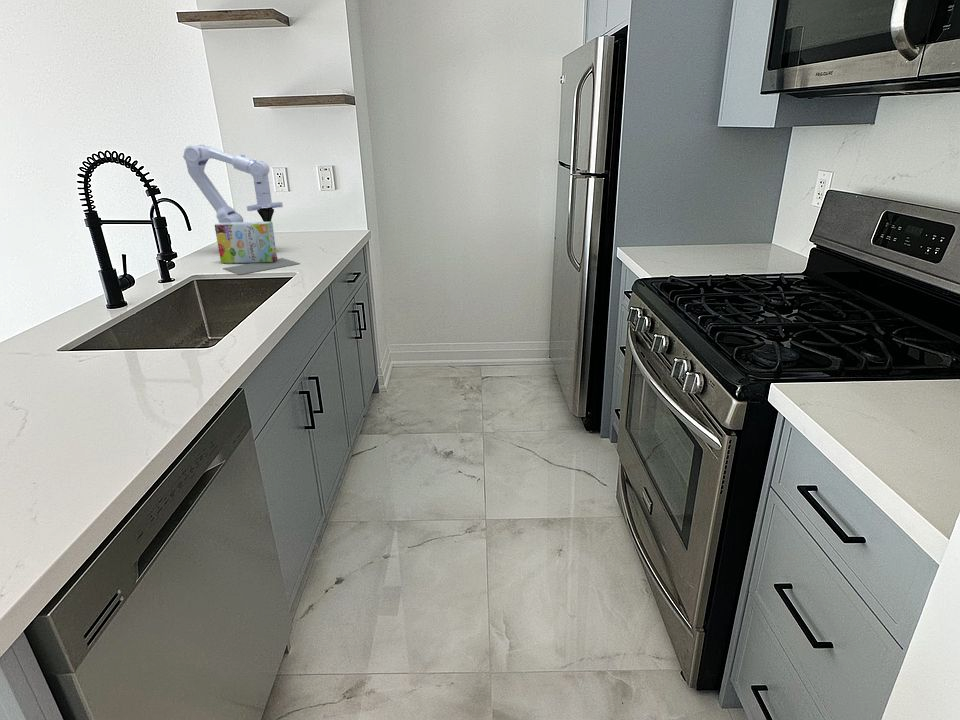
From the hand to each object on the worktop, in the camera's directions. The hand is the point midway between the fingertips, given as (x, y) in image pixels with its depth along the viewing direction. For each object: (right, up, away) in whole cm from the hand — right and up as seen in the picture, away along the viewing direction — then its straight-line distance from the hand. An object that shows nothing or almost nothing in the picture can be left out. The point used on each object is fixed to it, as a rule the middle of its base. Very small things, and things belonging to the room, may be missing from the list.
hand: (268, 227), depth 256 cm
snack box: (-2, -17, -14) cm, 22 cm away
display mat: (+5, -19, -21) cm, 29 cm away
